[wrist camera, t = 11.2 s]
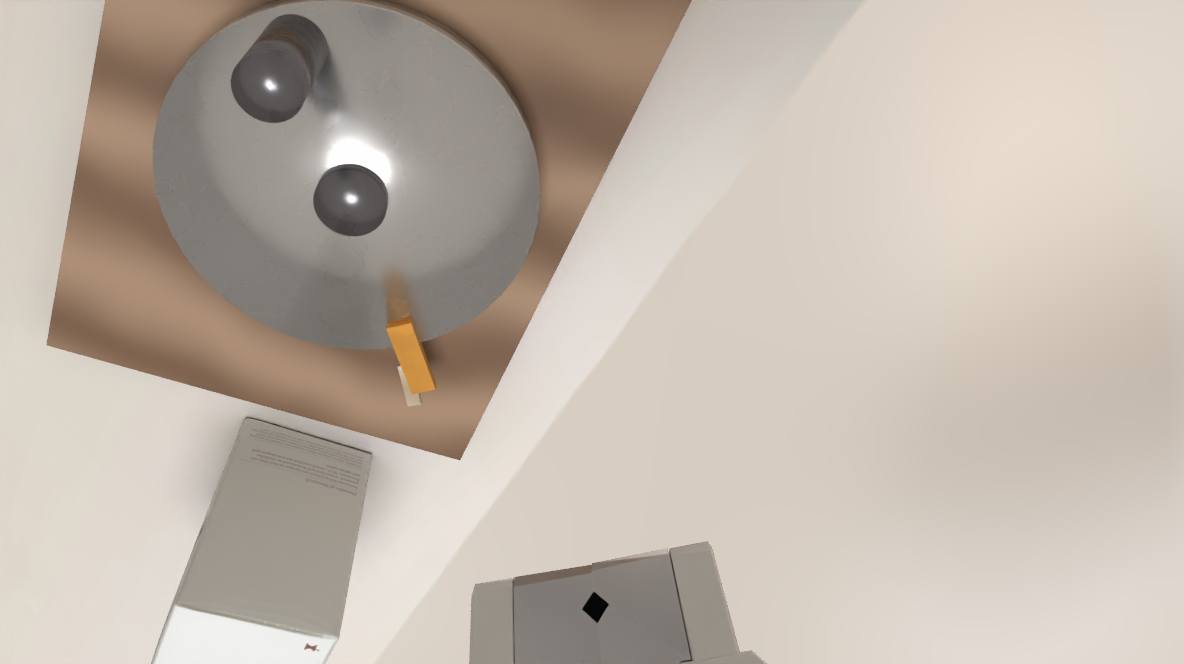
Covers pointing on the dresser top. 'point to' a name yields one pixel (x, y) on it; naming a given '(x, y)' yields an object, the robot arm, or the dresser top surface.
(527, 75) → the base board
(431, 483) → the dresser top surface
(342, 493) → the supplement box
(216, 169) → the dial
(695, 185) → the dresser top surface
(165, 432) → the dresser top surface
